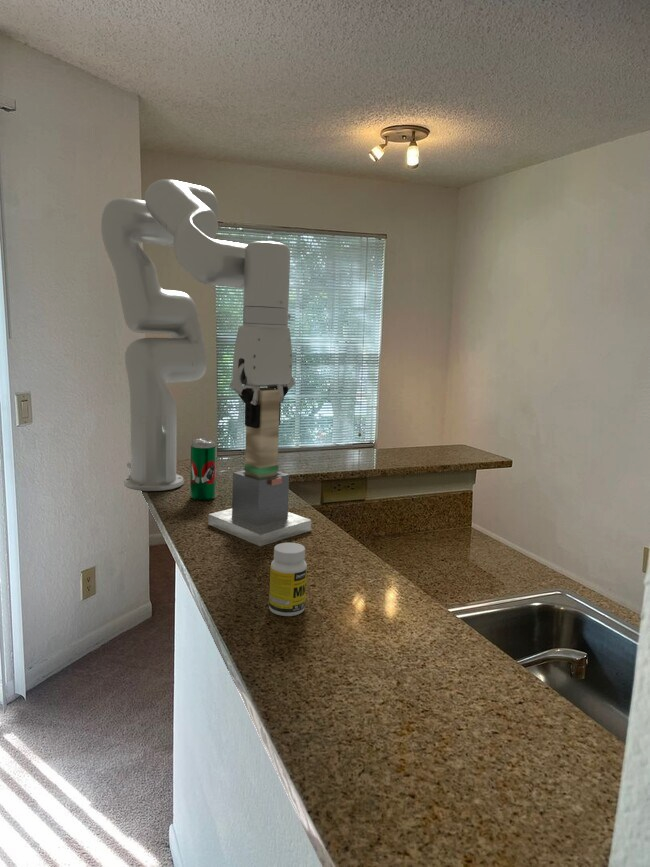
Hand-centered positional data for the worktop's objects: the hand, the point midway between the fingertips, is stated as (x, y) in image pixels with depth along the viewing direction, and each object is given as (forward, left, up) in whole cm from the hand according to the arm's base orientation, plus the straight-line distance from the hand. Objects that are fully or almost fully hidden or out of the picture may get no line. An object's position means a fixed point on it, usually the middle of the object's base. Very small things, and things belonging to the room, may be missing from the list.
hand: (262, 424), depth 108 cm
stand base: (0, 0, -19) cm, 19 cm away
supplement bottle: (+26, -18, -19) cm, 37 cm away
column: (0, 0, -10) cm, 10 cm away
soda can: (-21, +3, -19) cm, 28 cm away
